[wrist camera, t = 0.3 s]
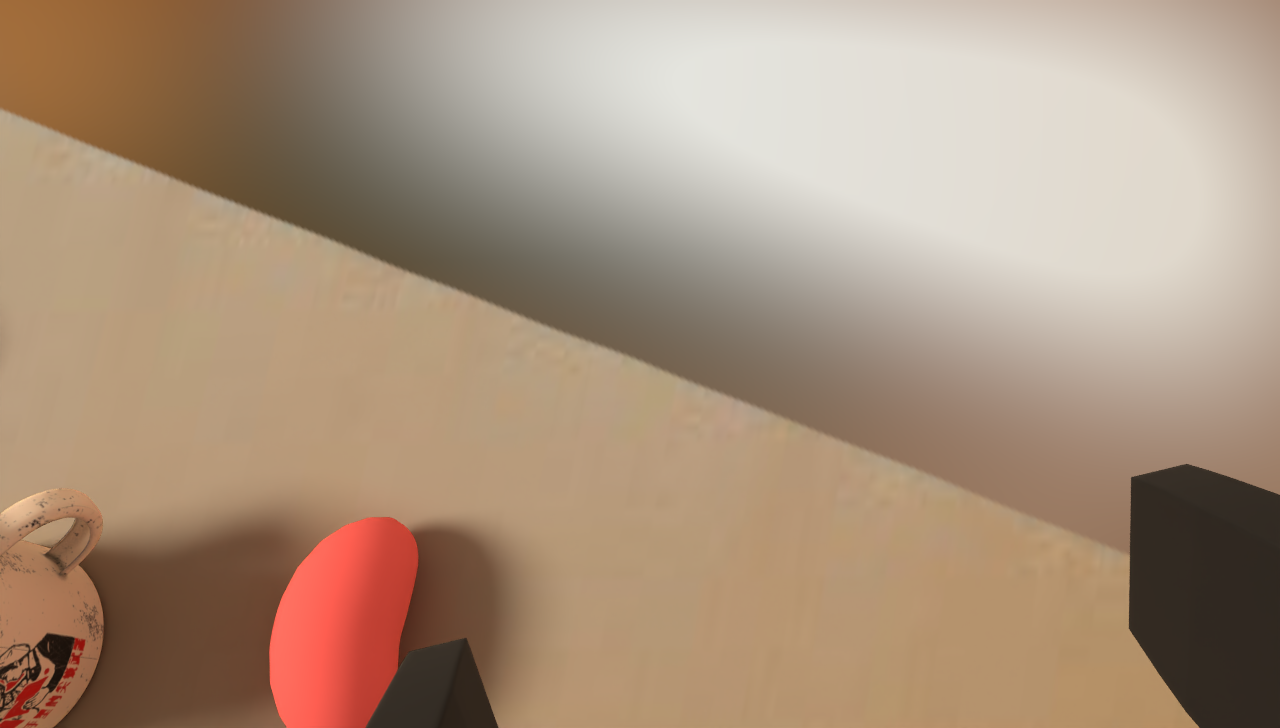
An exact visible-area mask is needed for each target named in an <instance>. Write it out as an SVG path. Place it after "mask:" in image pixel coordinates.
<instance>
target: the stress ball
mask: <svg viewBox="0 0 1280 728" xmlns="http://www.w3.org/2000/svg"><path fill="white" fill-rule="evenodd" d="M417 568H418V548H417V544H416V541H415V539H414V537H413V535H412V534H411V532H410V531H409V530H408V529H407V528H406V527H405V526H404V525H403V524H401V523H400V522H398V521H397V520H395V519H393V518H389V517H372V518H366V519H363V520H360V521H357V522H354V523H351V524H348V525H345V526H343V527H342V528H340V529H339V530H337V531H336V532H334V533H333V534H331V535H330V536H328V537H327V538H325V539H324V540H322V541H321V542H320V543H319V544H318V545H317V546H316V547H315V548H314V550H313V551H312V552H311V553H310V554H309V555H308V556H307V557H306V558H305V560H304V561H303V562H302V563H301V564H300V565H299V566H298V568H297V570H296V572H295V574H294V575H293V577H292V579H291V581H290V583H289V585H288V587H287V589H286V590H285V592H284V594H283V596H282V599H281V601H280V604H279V607H278V611H277V614H276V617H275V621H274V626H273V630H272V636H271V642H270V650H269V653H270V685H271V689H272V692H273V696H274V699H275V703H276V706H277V709H278V713H279V716H280V717H281V719H282V720H283V722H284V724H285V725H286V727H287V728H365V727H366V725H367V724H368V722H369V720H370V718H371V717H372V715H373V713H374V711H375V709H376V708H377V706H378V704H379V702H380V700H381V699H382V697H383V695H384V693H385V692H386V690H387V688H388V686H389V684H390V683H391V681H392V679H393V677H394V676H395V674H396V672H397V670H398V657H399V644H400V638H401V634H402V630H403V626H404V623H405V619H406V616H407V612H408V608H409V604H410V600H411V596H412V592H413V588H414V583H415V579H416V574H417Z"/></svg>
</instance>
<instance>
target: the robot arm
mask: <svg viewBox="0 0 1280 728" xmlns="http://www.w3.org/2000/svg"><path fill="white" fill-rule="evenodd" d="M1130 529H1131V530H1130V531H1131V532H1130V591H1129V629H1130V631H1131V632H1132V634H1133V635H1134V637H1135V638H1136V640H1137V641H1138V643H1139V644H1140V646H1141V647H1142V649H1143V650H1144V652H1145V653H1146V655H1147V656H1148V658H1149V659H1150V661H1151V662H1152V664H1153V665H1154V667H1155V668H1156V670H1157V672H1158V673H1159V674H1160V676H1161V677H1162V679H1163V680H1164V681H1165V683H1166V684H1167V686H1168V687H1169V689H1170V690H1171V691H1172V693H1173V694H1174V696H1175V697H1176V698H1177V700H1178V701H1179V703H1180V704H1181V705H1182V707H1183V708H1184V710H1185V711H1186V712H1187V713H1188V715H1189V716H1190V717H1191V718H1192V719H1193V720H1194V722H1195V723H1196V724H1197V725H1198V726H1199V727H1200V728H1280V495H1278V494H1276V493H1273V492H1270V491H1267V490H1264V489H1262V488H1259V487H1256V486H1253V485H1250V484H1247V483H1245V482H1242V481H1239V480H1236V479H1233V478H1230V477H1227V476H1224V475H1221V474H1218V473H1215V472H1212V471H1209V470H1206V469H1202V468H1199V467H1195V466H1192V465H1188V464H1185V465H1180V466H1176V467H1172V468H1168V469H1164V470H1160V471H1156V472H1151V473H1147V474H1143V475H1139V476H1135V477H1132V478H1131V526H1130ZM365 728H498V726H497V723H496V720H495V717H494V714H493V712H492V709H491V706H490V703H489V700H488V697H487V695H486V692H485V689H484V686H483V683H482V681H481V678H480V675H479V672H478V669H477V666H476V664H475V661H474V658H473V655H472V652H471V650H470V647H469V644H468V641H467V638H464V639H459V640H455V641H451V642H447V643H443V644H439V645H435V646H430V647H426V648H422V649H418V650H414V651H410V652H409V653H408V654H407V656H406V657H405V659H404V660H403V662H402V663H401V665H400V667H399V669H398V670H397V672H396V674H395V676H394V677H393V679H392V681H391V683H390V684H389V686H388V688H387V690H386V692H385V693H384V695H383V697H382V699H381V700H380V702H379V704H378V706H377V708H376V709H375V711H374V713H373V715H372V717H371V718H370V720H369V722H368V724H367V725H366V727H365Z"/></svg>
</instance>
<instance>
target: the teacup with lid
mask: <svg viewBox="0 0 1280 728" xmlns="http://www.w3.org/2000/svg"><path fill="white" fill-rule="evenodd" d="M67 517H72V518H75V520H74V523H73V525H72V527H71V528H70V530H69V531H68V532H67V534H66V535H65V536H64V537H63V538H62V539H61V540H60V541H59V542H58V543H57V544H56V545H55V546H54V547H52V548H47V547H44V546H40V545H37V544H34V543H30V542H27V541H24V540H21V539H22V538H24V537H25V536H26V535H28V534H29V533H31V532H32V531H34V530H35V529H37V528H39V527H41V526H43V525H45V524H47V523H50V522H52V521H55V520H58V519H62V518H67ZM102 529H103V519H102V515H101V513H100V511H99V509H98V508H97V506H96V505H95V504H94V502H93V501H92V500H91V499H90V498H89V497H88V496H87V495H85V494H84V493H82V492H79V491H77V490H73V489H67V488H59V489H52V490H47V491H44V492H41V493H38V494H35V495H32V496H30V497H27V498H25V499H23V500H21V501H19V502H17V503H16V504H14V505H12V506H11V507H9V508H8V509H6V510H5V511H3V512H2V513H0V728H53V727H54V726H55V725H56V724H57V723H59V722H60V721H61V720H62V719H63V718H64V717H65V716H66V715H67V713H68V712H69V711H70V710H71V709H72V708H73V706H74V705H75V704H76V703H77V701H78V700H79V699H80V697H81V696H82V694H83V692H84V691H85V689H86V687H87V686H88V684H89V682H90V680H91V678H92V676H93V673H94V671H95V669H96V666H97V663H98V660H99V657H100V653H101V649H102V642H103V633H104V618H103V611H102V606H101V602H100V598H99V596H98V593H97V590H96V588H95V586H94V584H93V582H92V581H91V579H90V578H89V576H88V575H87V574H86V572H85V571H84V570H83V569H82V568H81V567H80V566H79V565H78V564H79V563H80V562H81V561H83V560H84V558H85V557H86V556H87V555H88V554H89V553H90V552H91V551H92V549H93V548H94V547H95V545H96V544H97V542H98V540H99V538H100V536H101V533H102Z"/></svg>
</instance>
